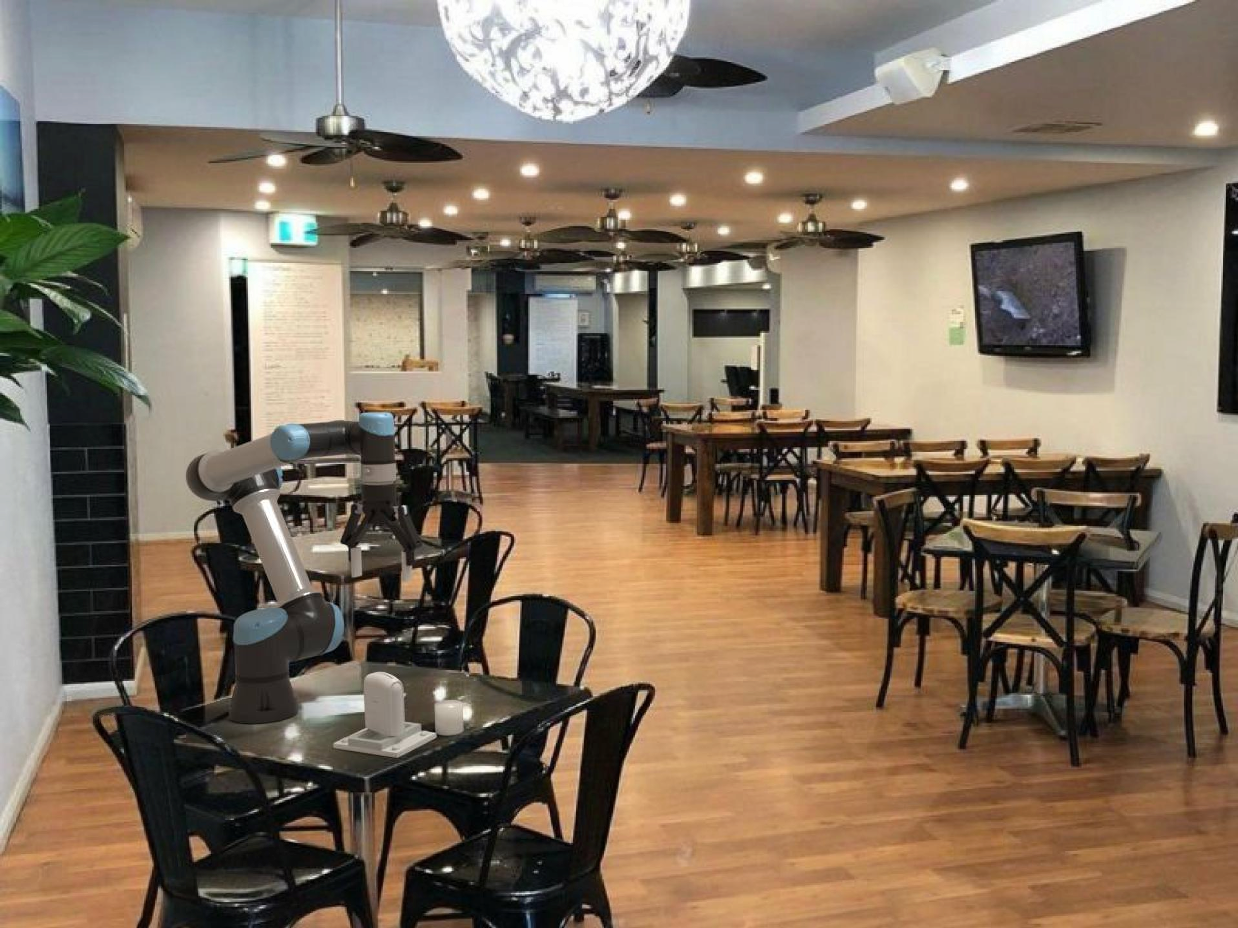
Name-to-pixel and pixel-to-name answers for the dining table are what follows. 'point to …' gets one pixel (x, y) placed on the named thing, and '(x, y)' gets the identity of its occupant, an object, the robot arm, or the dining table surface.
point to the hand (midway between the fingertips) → (381, 578)
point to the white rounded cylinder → (449, 717)
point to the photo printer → (384, 704)
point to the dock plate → (386, 741)
